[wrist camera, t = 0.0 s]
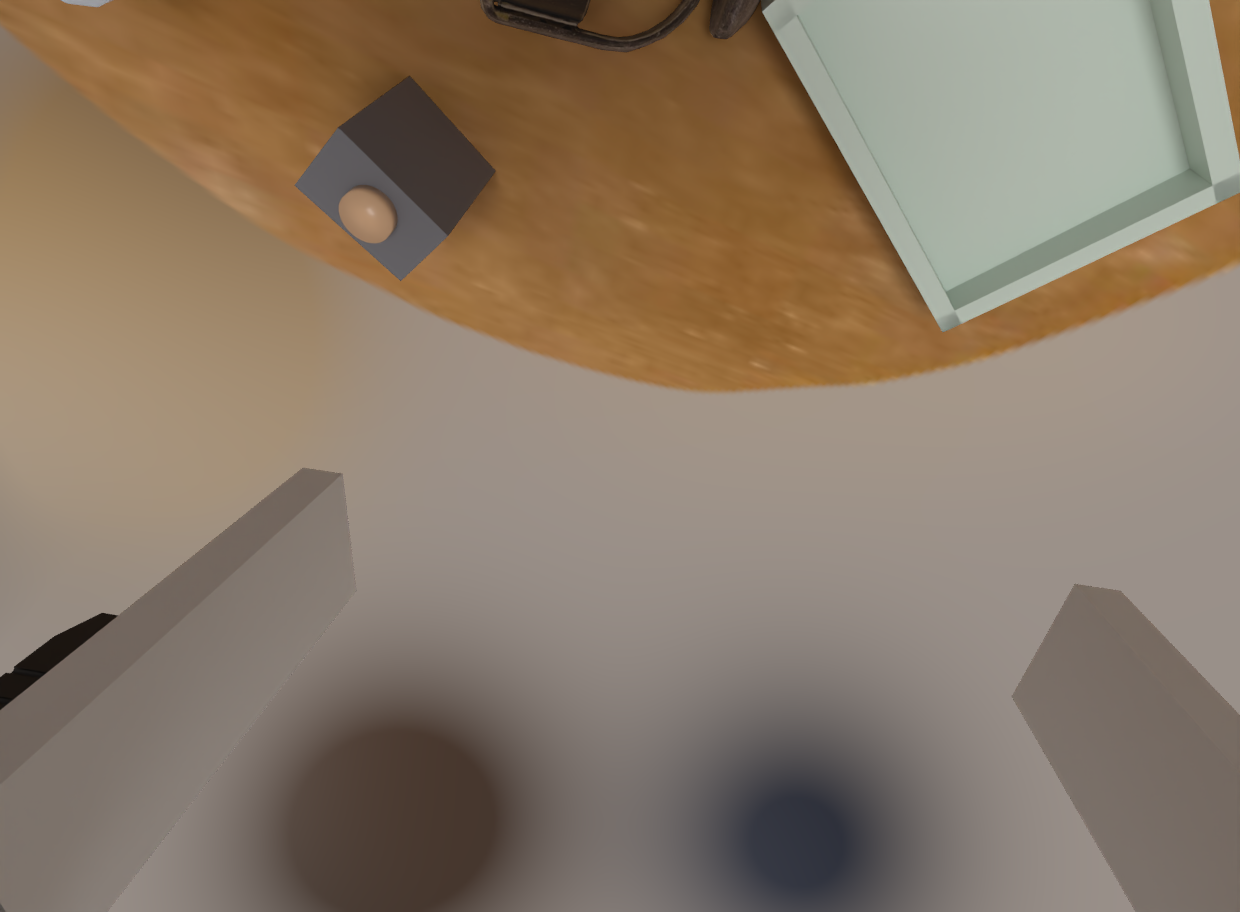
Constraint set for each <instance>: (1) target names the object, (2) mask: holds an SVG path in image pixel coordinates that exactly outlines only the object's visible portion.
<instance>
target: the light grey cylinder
mask: <svg viewBox="0 0 1240 912" xmlns="http://www.w3.org/2000/svg"><path fill="white" fill-rule="evenodd" d="M61 1H63V2H65V3H68V4H76V5H84V6H92V7H99V6H102V5H104V4H106V3H108V2H110V1H113V0H61Z"/></svg>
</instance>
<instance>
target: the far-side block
mask: <svg viewBox="0 0 1240 912" xmlns="http://www.w3.org/2000/svg"><path fill="white" fill-rule="evenodd" d="M494 173H495V170H494V169H493V168H492V166H491V165H490V164H489V163H488V162H487V161H486V160H485V159H484V158H483V156H482V155H481V154H480V153H479V152H478V151H477V150H476V149H475V148H474V146H473V145H472V144H471V143H470V142H469V141H468V140H467V139H466V138H465V136H464V135H463V134H462V133H461V132H460V131H459V130H458V129H457V128H456V127H455V125H454V124H453V123H452V122H451V121H450V120H449V119H448V118H447V117H446V115H445V114H444V113H443V112H442V111H441V110H440V109H439V108H438V107H437V105H436V104H435V103H434V102H433V101H432V100H431V99H430V98H429V97H428V95H427V94H426V93H425V92H424V91H423V90H422V89H421V88H420V87H419V86H418V84H417V83H416V82H415V81H414V80H413V79H412V78H411V77H410V76H409V77H407V78H406V79H404V80H403V81H402V82H400V83H399V84H398V85H396V86H395V87H393V88H392V89H391V90H389V91H388V92H386V93H385V94H384V95H382V96H381V97H380V98H378V99H377V100H375V101H374V102H373V103H371V104H370V105H368V106H367V107H366V108H364V109H363V110H362V111H360V112H359V113H357V114H356V115H355V116H353V117H352V118H351V119H349V120H348V121H346V122H345V123H344V124H342V125H341V126H339V127H338V128H337V130H336V131H335V132H334V134H333V135H332V136H331V138H330V139H329V140H328V142H327V143H326V144H325V146H324V147H323V148H322V150H321V151H320V152H319V154H318V155H317V156H316V158H315V159H314V160H313V162H312V163H311V164H310V166H309V167H308V168H307V170H306V171H305V172H304V174H303V175H302V176H301V178H300V179H299V180H298V182H297V183H296V184H295V186H296V187H297V188H298V189H299V190H300V191H301V192H302V193H304V194H305V195H306V196H307V197H308V198H309V199H310V200H311V201H312V202H314V203H315V204H316V205H317V206H318V207H319V208H320V209H321V210H322V211H323V212H325V213H326V214H327V215H328V216H329V217H330V218H331V219H332V220H333V221H335V222H336V223H337V224H338V225H339V226H340V227H341V228H342V229H343V230H345V231H346V232H347V233H348V234H349V235H350V236H351V237H352V238H353V239H355V240H356V241H357V242H358V243H359V244H360V245H361V246H362V247H363V248H365V249H366V250H367V251H368V252H369V253H370V254H371V255H372V256H373V257H375V258H376V259H377V260H378V261H379V262H380V263H381V264H382V265H383V266H385V267H386V268H387V269H388V270H389V271H390V272H391V273H392V274H393V275H395V276H396V277H397V278H398V279H399V280H400V281H401V280H402V279H403V278H404V277H406V276H407V275H408V274H409V273H410V272H411V271H412V270H413V269H414V268H415V267H416V266H417V265H418V264H419V263H420V262H421V261H422V260H423V259H424V258H425V257H426V256H428V255H429V254H430V253H431V252H432V251H433V250H434V249H435V248H436V247H437V246H438V245H439V244H440V243H441V242H442V241H443V240H444V239H445V238H446V237H447V236H448V235H449V234H450V233H451V231H452V230H453V228H454V227H455V226H456V224H457V223H458V222H459V220H460V219H461V218H462V216H463V215H464V214H465V212H466V211H467V209H468V208H469V207H470V205H471V204H472V203H473V201H474V200H475V199H476V197H477V196H478V195H479V193H480V192H481V190H482V189H483V188H484V186H485V185H486V184H487V182H488V181H489V180H490V178H491V177H492V176H493V174H494Z"/></svg>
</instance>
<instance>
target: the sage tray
mask: <svg viewBox="0 0 1240 912" xmlns="http://www.w3.org/2000/svg"><path fill="white" fill-rule="evenodd" d="M761 6H762V12H763V14H764V16H765V18H766V20H767V21H768V23H769V25H770V27H771V28H772V30H773V32H774V34H775V35H776V37H777V39H778V41H779V43H780V44H781V46H782V48H783V50H784V51H785V53H786V55H787V57H788V59H789V60H790V62H791V64H792V66H793V67H794V69H795V71H796V73H797V75H798V76H799V78H800V80H801V82H802V83H803V85H804V87H805V89H806V91H807V92H808V94H809V96H810V98H811V99H812V101H813V103H814V105H815V107H816V108H817V110H818V112H819V114H820V115H821V117H822V119H823V121H824V122H825V124H826V126H827V128H828V130H829V131H830V133H831V135H832V137H833V138H834V140H835V142H836V144H837V146H838V147H839V149H840V151H841V153H842V154H843V156H844V158H845V160H846V162H847V163H848V165H849V167H850V169H851V170H852V172H853V174H854V176H855V178H856V179H857V181H858V183H859V185H860V186H861V188H862V190H863V192H864V194H865V195H866V197H867V199H868V201H869V202H870V204H871V206H872V208H873V209H874V211H875V213H876V215H877V217H878V218H879V220H880V222H881V224H882V225H883V227H884V229H885V231H886V233H887V234H888V236H889V238H890V240H891V241H892V243H893V245H894V247H895V249H896V250H897V252H898V254H899V256H900V257H901V259H902V261H903V263H904V265H905V266H906V268H907V270H908V272H909V273H910V275H911V277H912V279H913V281H914V282H915V284H916V286H917V288H918V289H919V291H920V293H921V295H922V296H923V298H924V300H925V302H926V304H927V305H928V307H929V309H930V311H931V312H932V314H933V316H934V318H935V320H936V321H937V323H938V325H939V327H940V328H941V330H942V332H945V331H947V330H949V329H951V328H953V327H955V326H958V325H960V324H962V323H964V322H966V321H968V320H970V319H972V318H974V317H977V316H979V315H981V314H983V313H985V312H987V311H989V310H991V309H994V308H996V307H998V306H1000V305H1002V304H1004V303H1006V302H1008V301H1011V300H1013V299H1015V298H1017V297H1019V296H1021V295H1023V294H1025V293H1028V292H1030V291H1032V290H1034V289H1036V288H1038V287H1040V286H1042V285H1044V284H1047V283H1049V282H1051V281H1053V280H1055V279H1057V278H1059V277H1061V276H1064V275H1066V274H1068V273H1070V272H1072V271H1074V270H1076V269H1078V268H1081V267H1083V266H1085V265H1087V264H1089V263H1091V262H1093V261H1095V260H1098V259H1100V258H1102V257H1104V256H1106V255H1108V254H1110V253H1112V252H1115V251H1117V250H1119V249H1121V248H1123V247H1125V246H1127V245H1129V244H1131V243H1134V242H1136V241H1138V240H1140V239H1142V238H1144V237H1146V236H1148V235H1151V234H1153V233H1155V232H1157V231H1159V230H1161V229H1163V228H1165V227H1168V226H1170V225H1172V224H1174V223H1176V222H1178V221H1180V220H1182V219H1185V218H1187V217H1189V216H1191V215H1193V214H1195V213H1197V212H1199V211H1201V210H1204V209H1206V208H1208V207H1210V206H1212V205H1214V204H1216V203H1218V202H1221V201H1223V200H1225V199H1227V198H1229V197H1231V196H1233V195H1235V194H1238V193H1240V160H1239V154H1238V149H1237V144H1236V139H1235V134H1234V128H1233V123H1232V118H1231V113H1230V107H1229V102H1228V97H1227V92H1226V87H1225V81H1224V76H1223V71H1222V66H1221V61H1220V55H1219V50H1218V45H1217V40H1216V35H1215V29H1214V24H1213V19H1212V14H1211V8H1210V3H1209V0H761Z"/></svg>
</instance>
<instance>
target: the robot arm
mask: <svg viewBox="0 0 1240 912" xmlns="http://www.w3.org/2000/svg"><path fill="white" fill-rule="evenodd" d="M355 592H356V583H355V574H354V566H353V557H352V549H351V541H350V532H349V523H348V516H347V506H346V498H345V490H344V481H343V474H341V473H334V472H328V471H321V470H314V469H307V468H302V469H301V470H299V471H298V472H297V473H296V474H294V475H293V476H292V477H291V478H289V479H288V480H287V481H286V482H284V483H283V484H282V485H281V486H279V487H278V488H277V489H276V490H274V491H273V492H272V493H271V494H269V495H268V496H267V497H266V498H264V499H263V500H262V501H261V502H259V503H258V504H257V505H256V506H254V508H252V509H251V510H250V511H248V512H247V513H246V514H245V515H243V516H242V517H241V518H239V519H238V520H237V521H236V522H234V523H233V524H232V525H231V526H229V527H228V528H227V529H226V530H225V531H223V532H222V533H221V534H219V535H218V536H217V537H216V538H214V539H213V540H212V541H211V542H209V543H208V544H207V545H206V546H204V547H203V548H202V549H201V550H200V551H199V552H197V553H196V554H195V555H193V556H192V557H191V558H190V559H188V560H187V561H186V562H185V563H183V564H182V565H181V566H180V567H178V568H177V569H176V570H175V571H173V572H172V573H171V574H170V575H168V576H167V577H166V578H165V579H163V580H162V581H161V582H160V583H158V584H157V585H156V586H155V587H153V588H152V589H151V590H150V591H148V592H147V593H146V594H145V595H143V596H142V597H141V598H140V599H138V600H137V601H136V602H135V603H134V604H132V605H131V606H130V607H128V608H127V609H126V610H125V611H123V612H122V613H121V614H120V615H112V614H106V613H101V614H99V615H97V616H95V617H93V618H91V619H89V620H87V621H85V622H83V623H80V624H78V625H76V626H75V627H72V628H70V629H68V630H66V631H64V632H62V633H60V634H58V635H56V636H54V637H53V638H52V639H50V640H49V641H48V642H46V643H45V644H44V645H42V646H41V647H40V648H38V649H37V650H36V651H34V652H33V653H32V654H31V655H29V656H28V657H26V658H25V659H24V660H22V661H21V662H20V663H18V664H17V665H16V666H14V671H13V672H12V673H5V674H4V675H2V676H1V677H0V912H108V910H109V909H110V908H111V907H112V905H113V904H114V903H115V901H116V900H117V899H118V897H119V896H120V895H121V894H122V892H123V891H124V890H125V889H126V887H127V886H128V885H129V883H130V882H131V881H132V879H133V878H134V877H135V875H136V874H137V873H138V872H139V871H140V869H141V868H142V866H143V865H144V864H145V863H146V861H147V860H148V859H149V858H150V856H151V855H152V854H153V852H154V851H155V850H156V849H157V847H158V846H159V845H160V843H161V842H162V841H163V840H164V838H165V837H166V836H167V834H168V833H169V832H170V830H171V829H172V828H173V827H174V825H175V824H176V823H177V822H178V820H179V819H180V818H181V816H182V815H183V814H184V813H185V811H186V810H187V809H188V807H189V806H190V805H191V804H192V802H193V801H194V799H195V798H196V797H197V796H198V795H199V793H200V792H201V791H202V789H203V788H204V787H205V785H206V784H207V783H208V782H209V780H210V779H211V778H212V776H213V775H214V774H215V772H216V771H217V770H218V769H219V767H220V766H221V764H223V762H224V761H225V760H226V758H227V757H228V756H229V755H230V753H231V752H232V751H233V749H234V748H235V747H236V746H237V744H238V743H239V742H240V740H241V739H242V738H243V736H244V735H245V734H246V733H247V731H248V730H249V729H250V728H251V726H252V725H253V724H254V722H255V721H256V720H257V718H258V717H259V716H260V714H261V713H262V712H263V711H264V709H265V708H266V707H267V706H268V704H269V703H270V702H271V700H272V699H273V698H274V697H275V695H276V694H277V693H278V691H279V690H280V689H281V688H282V686H283V685H284V684H285V682H286V681H287V680H288V679H289V677H290V676H291V675H292V673H293V672H294V671H295V670H296V668H297V667H298V666H299V664H300V663H301V662H302V660H303V659H304V658H305V657H306V655H307V654H308V653H309V651H310V650H311V649H312V648H313V646H314V645H315V644H316V642H317V641H318V640H319V639H320V637H321V636H322V635H323V633H324V632H325V631H326V630H327V628H328V627H329V626H330V624H331V623H332V622H333V621H334V619H335V618H336V617H337V615H338V614H339V613H340V611H341V610H342V609H343V607H344V606H345V605H346V604H347V602H348V601H349V600H350V599H351V597H352V596H353V595H354V594H355ZM1012 698H1013V700H1014V701H1015V703H1016V705H1017V707H1018V708H1019V710H1020V712H1021V714H1022V715H1023V717H1024V719H1025V721H1026V722H1027V724H1028V726H1029V728H1030V729H1031V731H1032V733H1033V734H1034V736H1035V738H1036V740H1037V741H1038V743H1039V745H1040V747H1041V748H1042V750H1043V752H1044V754H1045V755H1046V757H1047V759H1048V761H1049V762H1050V764H1051V766H1052V767H1053V769H1054V771H1055V773H1056V774H1057V776H1058V778H1059V780H1060V781H1061V783H1062V785H1063V787H1064V788H1065V790H1066V792H1067V794H1068V795H1069V797H1070V799H1071V801H1072V802H1073V804H1074V806H1075V808H1076V809H1077V811H1078V813H1079V814H1080V816H1081V818H1082V820H1083V821H1084V823H1085V825H1086V827H1087V828H1088V830H1089V832H1090V834H1091V835H1092V837H1093V839H1094V840H1095V842H1096V844H1097V846H1098V848H1099V849H1100V851H1101V853H1102V855H1103V856H1104V858H1105V860H1106V861H1107V863H1108V865H1109V866H1110V868H1111V870H1112V872H1113V874H1114V875H1115V877H1116V879H1117V881H1118V882H1119V884H1120V886H1121V887H1122V889H1123V891H1124V893H1125V895H1126V896H1127V898H1128V900H1129V902H1130V903H1131V905H1132V907H1133V908H1134V910H1135V912H1240V715H1239V714H1238V713H1237V712H1236V711H1235V710H1234V708H1232V706H1231V705H1229V703H1228V702H1227V701H1226V700H1225V699H1224V698H1223V697H1222V696H1221V695H1220V694H1219V693H1218V692H1217V691H1216V690H1215V689H1214V688H1213V687H1212V686H1211V685H1210V683H1208V681H1207V680H1206V679H1205V678H1204V677H1203V676H1202V675H1201V674H1200V673H1199V672H1198V671H1197V670H1196V669H1195V668H1194V667H1193V666H1192V665H1191V664H1190V663H1189V662H1188V661H1187V660H1186V659H1185V657H1184V656H1183V655H1181V653H1180V652H1179V651H1178V650H1177V649H1176V648H1175V647H1174V646H1173V645H1172V644H1171V643H1170V642H1169V641H1168V640H1167V639H1166V638H1165V637H1164V636H1163V635H1162V634H1161V633H1160V631H1159V630H1158V629H1157V628H1156V627H1155V626H1154V625H1153V624H1152V623H1151V622H1150V621H1149V620H1148V619H1147V618H1146V617H1145V616H1144V615H1143V614H1142V613H1141V612H1140V611H1139V610H1138V609H1137V607H1136V606H1134V604H1133V603H1132V602H1131V601H1130V600H1129V599H1128V598H1127V597H1126V596H1125V595H1124V594H1123V593H1122V592H1121V591H1118V590H1111V589H1105V588H1098V587H1092V586H1085V585H1078V584H1074V586H1073V588H1072V590H1071V592H1070V593H1069V595H1068V597H1067V599H1066V601H1065V602H1064V604H1063V606H1062V608H1061V609H1060V611H1059V613H1058V615H1057V617H1056V618H1055V620H1054V622H1053V624H1052V625H1051V627H1050V629H1049V631H1048V633H1047V634H1046V636H1045V638H1044V640H1043V642H1042V643H1041V645H1040V647H1039V649H1038V650H1037V652H1036V654H1035V656H1034V658H1033V659H1032V661H1031V663H1030V665H1029V667H1028V668H1027V670H1026V672H1025V674H1024V676H1023V677H1022V679H1021V681H1020V683H1019V684H1018V686H1017V688H1016V690H1015V692H1014V693H1013V695H1012Z"/></svg>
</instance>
